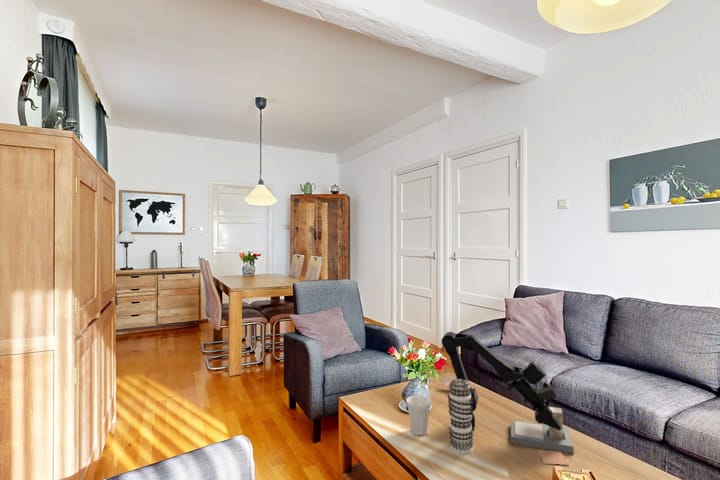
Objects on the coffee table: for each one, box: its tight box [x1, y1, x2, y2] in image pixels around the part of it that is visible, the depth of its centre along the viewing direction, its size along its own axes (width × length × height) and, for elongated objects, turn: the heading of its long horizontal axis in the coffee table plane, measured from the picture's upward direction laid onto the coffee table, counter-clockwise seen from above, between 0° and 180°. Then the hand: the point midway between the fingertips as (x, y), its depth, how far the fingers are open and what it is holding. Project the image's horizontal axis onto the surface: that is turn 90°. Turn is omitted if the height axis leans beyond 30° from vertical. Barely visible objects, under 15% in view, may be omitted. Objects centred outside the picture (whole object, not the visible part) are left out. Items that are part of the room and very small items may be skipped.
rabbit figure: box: [440, 381, 450, 390], centre depth 192 cm, size 6×6×15 cm
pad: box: [536, 449, 570, 466], centre depth 132 cm, size 8×8×1 cm
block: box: [548, 406, 564, 440], centre depth 143 cm, size 4×4×12 cm
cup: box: [405, 395, 432, 436], centre depth 152 cm, size 10×10×13 cm
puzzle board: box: [510, 419, 575, 454], centre depth 145 cm, size 21×14×3 cm, turn 68°
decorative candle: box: [447, 378, 474, 455], centre depth 141 cm, size 9×9×25 cm
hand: (559, 423), depth 143 cm, fingers open, 9 cm apart
